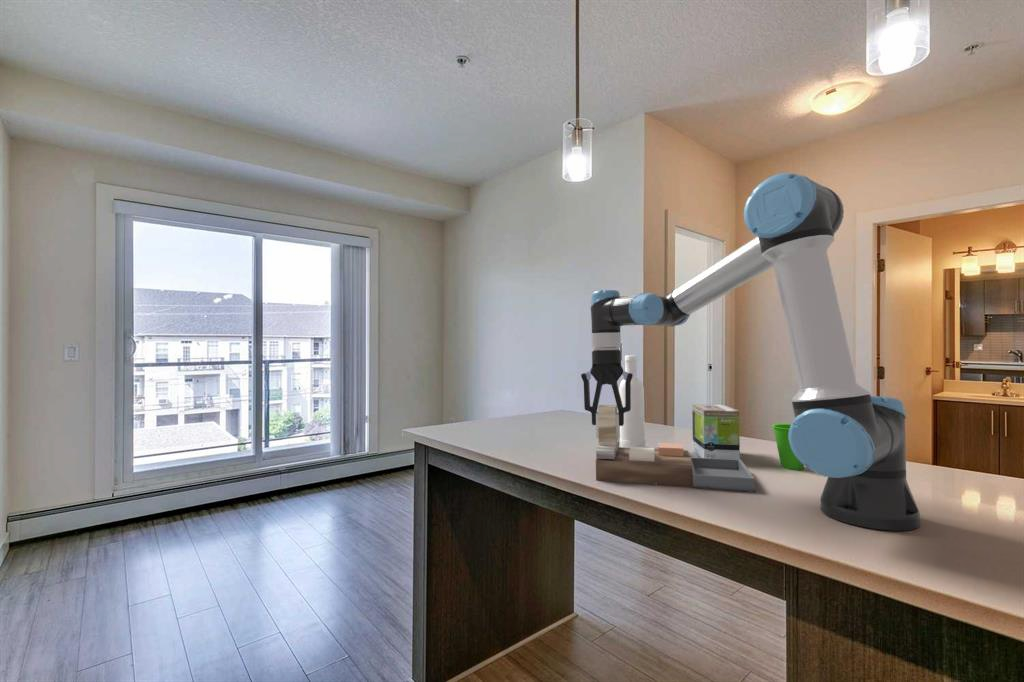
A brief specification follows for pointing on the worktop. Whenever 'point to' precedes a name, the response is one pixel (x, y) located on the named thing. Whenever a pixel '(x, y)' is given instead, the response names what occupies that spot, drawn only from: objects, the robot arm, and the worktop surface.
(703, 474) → the tray
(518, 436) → the worktop surface
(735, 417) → the tea box
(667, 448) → the terracotta tile
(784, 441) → the cup
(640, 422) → the bottle
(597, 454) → the two-tone beige block
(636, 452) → the cream tile
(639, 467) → the board
